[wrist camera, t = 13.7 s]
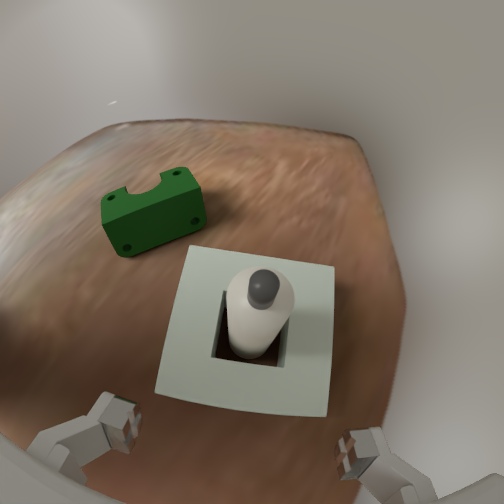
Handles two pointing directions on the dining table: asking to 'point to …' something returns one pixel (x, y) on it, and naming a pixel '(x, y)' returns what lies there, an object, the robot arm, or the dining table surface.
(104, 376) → the dining table surface
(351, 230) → the dining table surface
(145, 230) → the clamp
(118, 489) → the dining table surface
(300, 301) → the housing
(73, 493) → the robot arm
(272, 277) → the white bottle
